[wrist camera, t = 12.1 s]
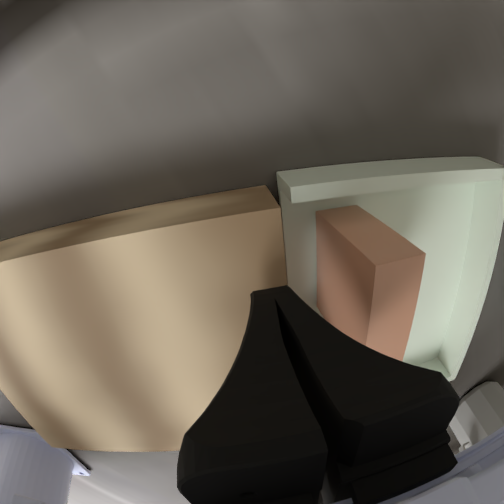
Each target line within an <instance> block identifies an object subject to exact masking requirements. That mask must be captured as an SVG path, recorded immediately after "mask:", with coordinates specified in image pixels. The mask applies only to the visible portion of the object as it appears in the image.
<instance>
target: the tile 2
mask: <svg viewBox="0 0 504 504" xmlns="http://www.w3.org/2000/svg"><path fill="white" fill-rule="evenodd" d="M316 256H317V308H318V309H319V311H320V313H321V314H322V316H323V317H324V319H325V320H326V321H328V322H329V323H330V324H332V325H333V326H334V327H336V328H337V329H338V330H340V331H341V332H343V333H344V334H346V335H347V336H349V337H351V338H352V339H354V340H356V341H357V342H359V343H361V344H363V345H365V346H367V347H369V348H371V349H373V350H375V351H377V352H380V353H382V354H384V355H387V356H389V357H391V358H394V359H397V360H400V361H403V357H404V354H405V350H406V346H407V342H408V339H409V335H410V331H411V327H412V323H413V318H414V314H415V309H416V305H417V300H418V295H419V290H420V285H421V280H422V274H423V269H424V263H425V256H426V253H425V252H423V251H422V250H421V249H419V248H418V247H417V246H415V245H414V244H412V243H411V242H410V241H408V240H407V239H406V238H404V237H403V236H401V235H400V234H399V233H397V232H396V231H394V230H393V229H391V228H390V227H389V226H387V225H386V224H384V223H383V222H381V221H380V220H378V219H377V218H375V217H374V216H373V215H371V214H370V213H368V212H367V211H365V210H364V209H362V208H361V207H359V206H358V205H352V206H346V207H339V208H332V209H326V210H319V211H316Z"/></svg>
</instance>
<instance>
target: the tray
mask: <svg viewBox="0 0 504 504" xmlns="http://www.w3.org/2000/svg"><path fill="white" fill-rule="evenodd" d="M276 176H277V186H278V195H279V205H280V208H281V219H282V229H283V240H284V252H285V263H286V275H287V285H288V286H289V287H290V288H291V289H292V290H293V291H294V292H295V293H296V294H297V295H298V296H299V297H300V298H301V299H302V300H303V301H304V302H305V303H306V304H307V305H309V306H310V307H311V308H312V309H313V310H314V311H315V312H317V313H318V314H319V315H320V316H321V317H323V316H322V314H321V313H320V311H319V309H318V308H317V256H316V211H319V210H326V209H332V208H339V207H346V206H352V205H358V206H359V207H361V208H362V209H364V210H365V211H367V212H368V213H370V214H371V215H373V216H374V217H375V218H377V219H378V220H380V221H381V222H383V223H384V224H386V225H387V226H389V227H390V228H391V229H393V230H394V231H396V232H397V233H399V234H400V235H401V236H403V237H404V238H406V239H407V240H408V241H410V242H411V243H412V244H414V245H415V246H417V247H418V248H419V249H421V250H422V251H423V252H425V253H426V256H425V263H424V269H423V274H422V280H421V285H420V290H419V295H418V300H417V305H416V309H415V314H414V318H413V323H412V327H411V331H410V335H409V339H408V342H407V346H406V350H405V354H404V357H403V362H405V363H408V364H411V365H415V366H419V367H423V368H427V369H431V370H435V371H439V372H441V373H442V374H443V375H444V377H445V378H446V379H447V380H448V381H452V380H454V379H455V378H456V376H457V374H458V371H459V369H460V367H461V364H462V362H463V359H464V357H465V355H466V352H467V349H468V347H469V344H470V342H471V339H472V336H473V334H474V331H475V328H476V325H477V322H478V319H479V316H480V313H481V310H482V307H483V304H484V301H485V297H486V294H487V291H488V287H489V283H490V280H491V276H492V272H493V268H494V264H495V260H496V256H497V251H498V247H499V242H500V237H501V232H502V226H503V220H504V166H503V165H501V164H498V163H495V162H493V161H490V160H487V159H485V158H482V157H479V156H472V157H437V158H416V159H399V160H385V161H372V162H360V163H349V164H339V165H329V166H320V167H311V168H302V169H294V170H286V171H279V172H276ZM323 318H324V317H323Z"/></svg>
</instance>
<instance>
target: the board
mask: <svg viewBox="0 0 504 504" xmlns="http://www.w3.org/2000/svg"><path fill="white" fill-rule="evenodd" d="M285 285H287V275H286V263H285V252H284V240H283V229H282V219H281V208H280V206H279V205H278V203H277V202H276V200H275V199H274V197H273V196H272V194H271V193H270V191H269V189H268V188H267V186H266V185H262V186H256V187H249V188H243V189H236V190H230V191H224V192H218V193H212V194H206V195H201V196H195V197H189V198H184V199H179V200H173V201H168V202H163V203H158V204H153V205H148V206H143V207H138V208H133V209H128V210H124V211H119V212H114V213H110V214H105V215H101V216H97V217H92V218H88V219H84V220H80V221H75V222H71V223H67V224H63V225H59V226H55V227H51V228H47V229H43V230H40V231H36V232H32V233H28V234H25V235H21V236H17V237H14V238H10V239H7V240H3V241H0V389H1V391H2V392H3V393H4V394H5V396H6V397H7V398H8V399H9V401H10V402H11V403H12V404H13V406H14V407H15V408H16V409H17V410H18V411H19V413H20V414H21V415H22V416H23V417H24V418H25V420H26V421H27V422H28V423H29V424H30V425H31V426H32V427H33V428H34V429H35V430H36V432H37V433H38V434H39V435H40V436H41V437H42V438H43V439H44V440H45V441H46V442H47V443H48V444H49V445H50V446H51V447H55V448H64V449H75V450H89V451H111V452H155V451H177V450H180V448H181V444H182V440H183V437H184V434H185V433H186V432H187V431H188V429H189V428H190V427H191V426H192V425H193V424H194V423H195V421H196V420H197V419H198V418H199V417H200V416H201V414H202V413H203V412H204V411H205V409H206V408H207V407H208V405H209V404H210V402H211V401H212V399H213V398H214V396H215V395H216V393H217V392H218V391H219V389H220V387H221V386H222V384H223V382H224V380H225V379H226V377H227V375H228V373H229V371H230V369H231V367H232V365H233V363H234V361H235V358H236V356H237V354H238V351H239V349H240V346H241V343H242V340H243V337H244V334H245V330H246V326H247V322H248V318H249V312H250V305H251V297H250V294H251V293H252V292H253V291H257V290H262V289H268V288H274V287H279V286H285Z"/></svg>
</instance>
